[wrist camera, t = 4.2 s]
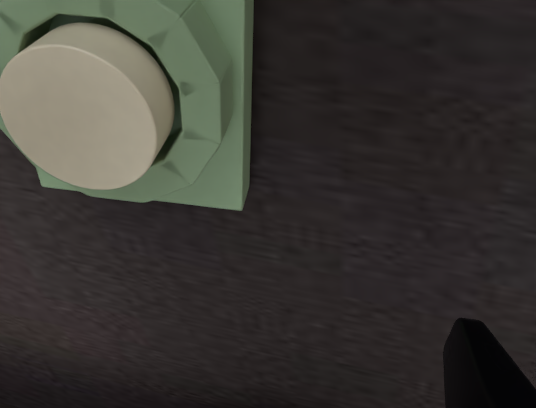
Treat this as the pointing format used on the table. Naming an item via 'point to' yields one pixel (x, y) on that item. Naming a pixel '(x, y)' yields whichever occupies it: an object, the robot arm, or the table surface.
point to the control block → (182, 86)
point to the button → (87, 105)
